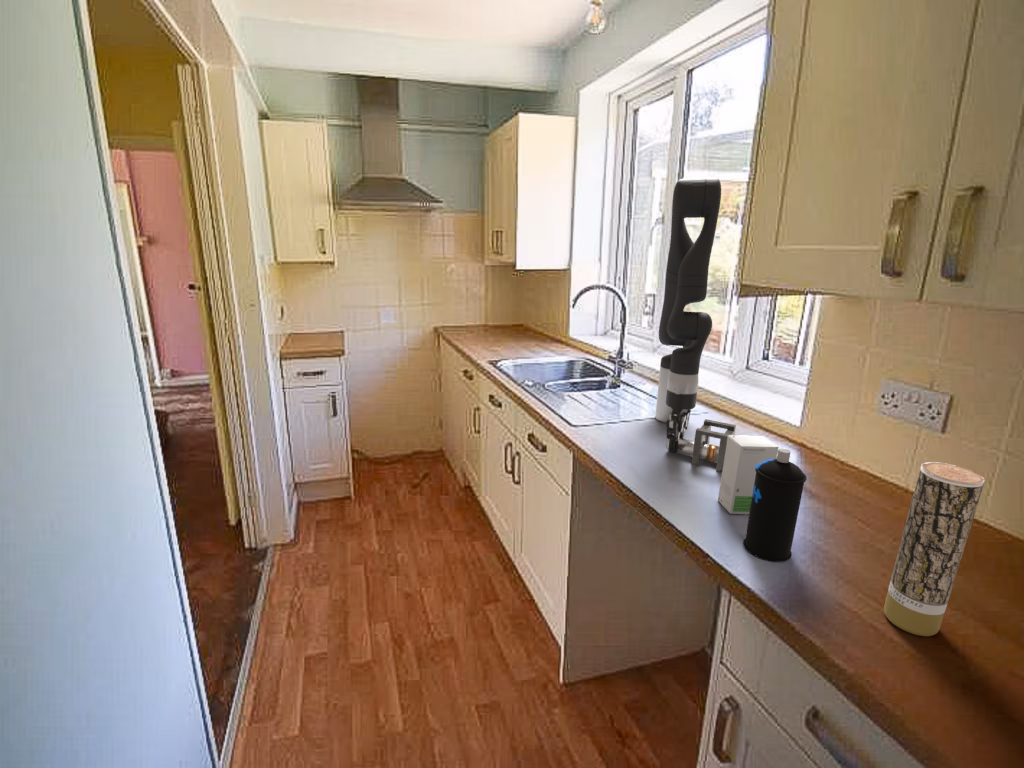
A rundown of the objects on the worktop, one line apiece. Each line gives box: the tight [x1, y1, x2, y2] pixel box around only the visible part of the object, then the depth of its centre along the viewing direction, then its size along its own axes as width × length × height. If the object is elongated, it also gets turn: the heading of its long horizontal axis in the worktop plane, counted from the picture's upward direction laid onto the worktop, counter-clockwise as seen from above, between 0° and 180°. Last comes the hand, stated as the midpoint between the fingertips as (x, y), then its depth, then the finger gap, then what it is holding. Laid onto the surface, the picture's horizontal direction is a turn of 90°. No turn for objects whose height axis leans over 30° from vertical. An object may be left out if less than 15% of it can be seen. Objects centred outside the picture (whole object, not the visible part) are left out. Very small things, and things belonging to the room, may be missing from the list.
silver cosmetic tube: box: [665, 437, 720, 463], centre depth 132 cm, size 16×4×4 cm, turn 56°
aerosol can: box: [742, 448, 807, 563], centre depth 92 cm, size 8×8×20 cm
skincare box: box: [717, 434, 780, 515], centre depth 107 cm, size 8×7×16 cm
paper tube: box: [883, 461, 985, 637], centre depth 74 cm, size 7×7×25 cm
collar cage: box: [691, 418, 737, 473], centre depth 130 cm, size 10×8×10 cm
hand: (675, 449), depth 136 cm, fingers closed on silver cosmetic tube, 4 cm apart
